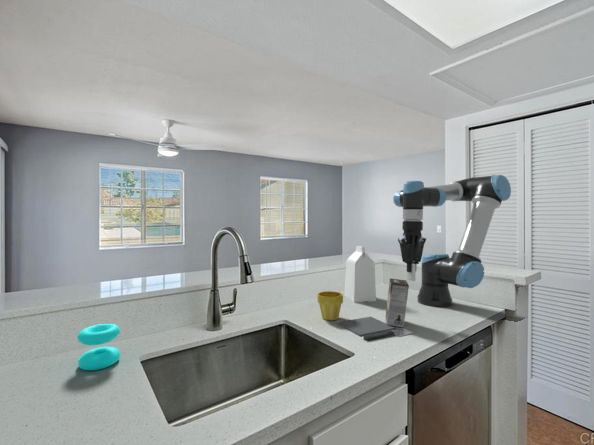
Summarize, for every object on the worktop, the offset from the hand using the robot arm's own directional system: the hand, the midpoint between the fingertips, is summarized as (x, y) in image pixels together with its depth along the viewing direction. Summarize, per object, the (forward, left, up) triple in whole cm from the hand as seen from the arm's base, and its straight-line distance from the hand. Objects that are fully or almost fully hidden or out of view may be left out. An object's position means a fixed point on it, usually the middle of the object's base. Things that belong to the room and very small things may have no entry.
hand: (411, 280), depth 125 cm
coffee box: (+9, 0, -16) cm, 18 cm away
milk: (-1, -35, -16) cm, 39 cm away
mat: (+21, -2, -16) cm, 26 cm away
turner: (+19, +8, -16) cm, 26 cm away
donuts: (+107, -10, -16) cm, 108 cm away
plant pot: (+28, -16, -16) cm, 36 cm away
